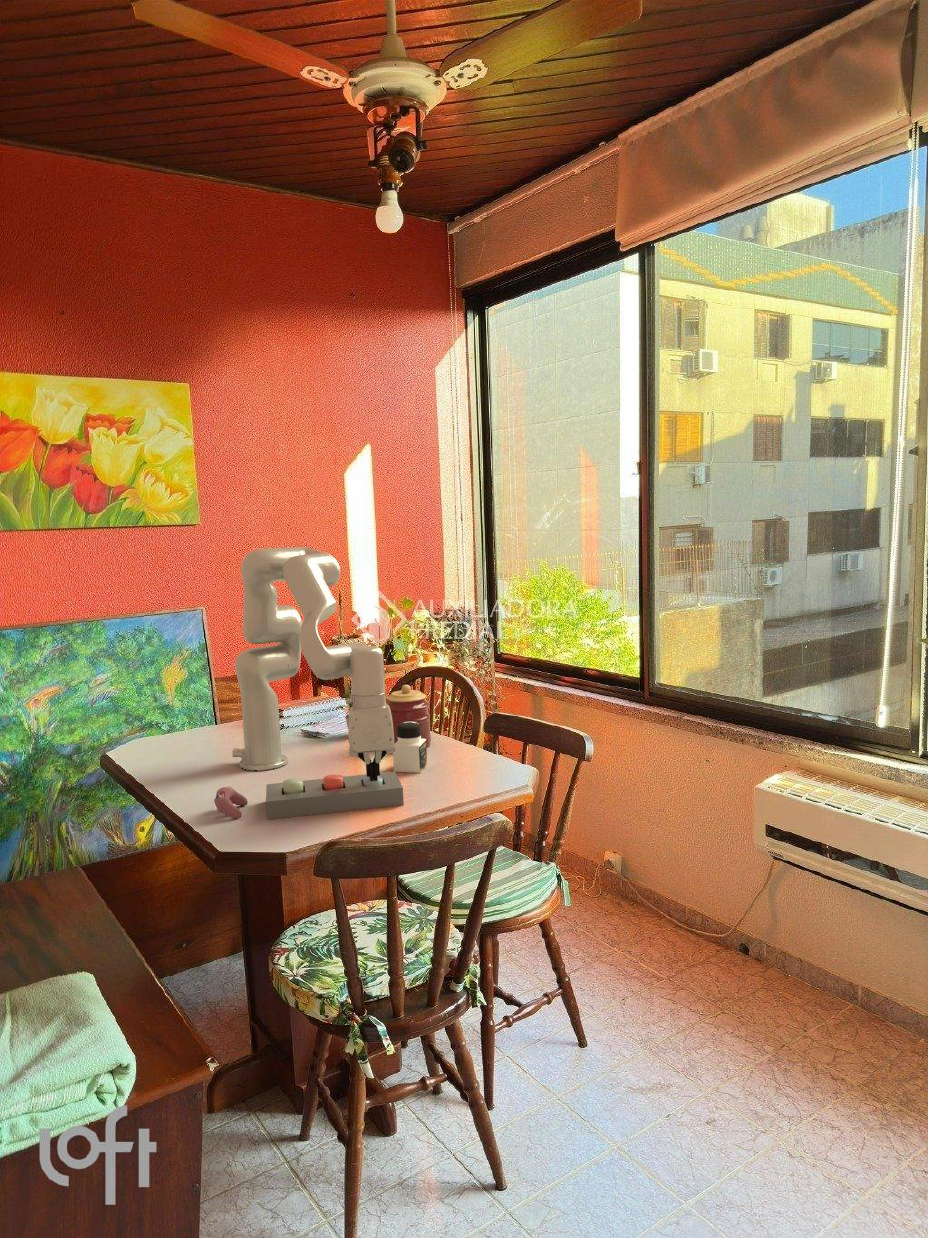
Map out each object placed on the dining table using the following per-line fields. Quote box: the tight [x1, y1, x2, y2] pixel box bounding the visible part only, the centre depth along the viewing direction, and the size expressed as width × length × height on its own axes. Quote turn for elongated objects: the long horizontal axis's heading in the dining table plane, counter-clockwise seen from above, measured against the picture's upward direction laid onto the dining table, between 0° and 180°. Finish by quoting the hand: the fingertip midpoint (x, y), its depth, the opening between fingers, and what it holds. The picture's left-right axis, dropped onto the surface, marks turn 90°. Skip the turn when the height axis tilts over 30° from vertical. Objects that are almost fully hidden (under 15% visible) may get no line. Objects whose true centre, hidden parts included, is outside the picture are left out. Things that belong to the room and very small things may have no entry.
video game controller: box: [213, 785, 249, 819], centre depth 190 cm, size 10×5×7 cm, turn 5°
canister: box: [385, 684, 432, 748], centre depth 241 cm, size 13×13×18 cm
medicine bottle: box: [392, 722, 428, 774], centre depth 218 cm, size 7×7×12 cm
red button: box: [322, 774, 344, 790], centre depth 193 cm, size 4×4×3 cm
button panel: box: [265, 771, 405, 820], centre depth 194 cm, size 30×13×4 cm, turn 102°
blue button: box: [363, 776, 383, 786], centre depth 196 cm, size 4×4×3 cm
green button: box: [282, 778, 304, 794], centre depth 192 cm, size 4×4×3 cm
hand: (373, 779), depth 195 cm, fingers closed
